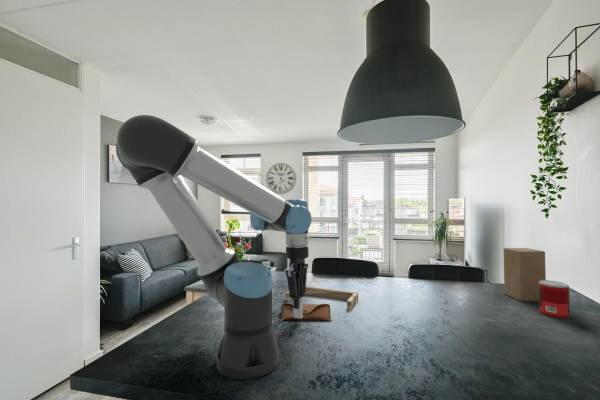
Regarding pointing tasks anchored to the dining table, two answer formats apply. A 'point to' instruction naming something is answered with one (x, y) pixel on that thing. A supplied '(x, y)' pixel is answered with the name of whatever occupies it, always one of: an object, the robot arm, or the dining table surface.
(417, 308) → the dining table surface
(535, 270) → the wooden block
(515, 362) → the dining table surface
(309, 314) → the sunglasses case
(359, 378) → the dining table surface
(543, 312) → the canned food
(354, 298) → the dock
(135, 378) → the dining table surface
